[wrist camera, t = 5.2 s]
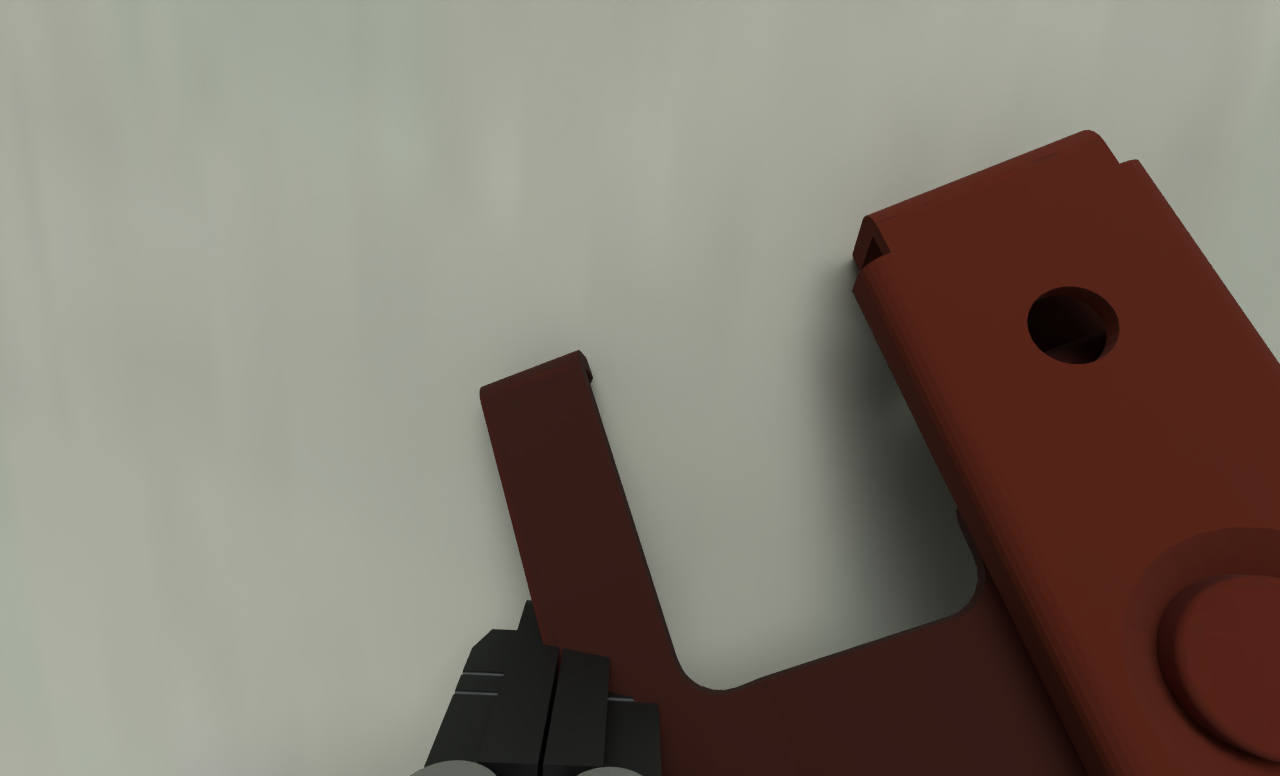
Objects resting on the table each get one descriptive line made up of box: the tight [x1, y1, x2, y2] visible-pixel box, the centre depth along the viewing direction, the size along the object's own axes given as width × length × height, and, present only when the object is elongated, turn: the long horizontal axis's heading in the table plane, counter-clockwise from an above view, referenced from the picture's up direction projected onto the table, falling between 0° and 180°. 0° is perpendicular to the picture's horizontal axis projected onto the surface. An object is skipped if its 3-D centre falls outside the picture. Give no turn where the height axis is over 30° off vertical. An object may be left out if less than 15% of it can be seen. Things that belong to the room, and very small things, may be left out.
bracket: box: [480, 130, 1280, 776], centre depth 12 cm, size 10×14×10 cm
